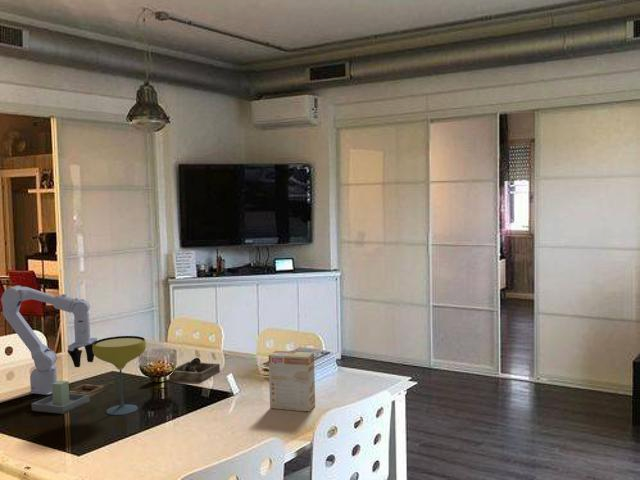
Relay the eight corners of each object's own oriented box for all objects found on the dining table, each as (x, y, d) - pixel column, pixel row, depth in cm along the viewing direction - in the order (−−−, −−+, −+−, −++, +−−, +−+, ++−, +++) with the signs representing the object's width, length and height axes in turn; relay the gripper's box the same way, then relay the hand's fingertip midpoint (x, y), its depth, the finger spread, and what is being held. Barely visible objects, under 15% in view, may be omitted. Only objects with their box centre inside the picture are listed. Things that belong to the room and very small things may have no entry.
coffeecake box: (315, 406, 226) (314, 352, 225) (309, 412, 219) (307, 357, 218) (277, 402, 231) (275, 349, 230) (269, 408, 224) (267, 354, 223)
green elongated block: (52, 405, 231) (51, 383, 230) (60, 401, 235) (59, 380, 234) (61, 406, 229) (60, 384, 229) (69, 402, 233) (68, 381, 233)
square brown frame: (65, 395, 245) (65, 391, 245) (83, 387, 254) (83, 383, 254) (88, 397, 241) (87, 393, 241) (105, 389, 251) (105, 385, 251)
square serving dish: (169, 379, 264) (169, 371, 263) (188, 369, 278) (188, 361, 278) (202, 382, 259) (201, 373, 258) (219, 371, 273) (219, 364, 273)
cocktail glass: (99, 422, 214) (96, 349, 212) (92, 407, 230) (88, 339, 228) (153, 413, 222) (150, 343, 220) (142, 399, 238) (139, 333, 236)
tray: (31, 410, 228) (31, 403, 228) (59, 398, 241) (59, 392, 241) (63, 413, 223) (63, 407, 223) (89, 401, 236) (89, 395, 236)
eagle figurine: (203, 373, 267) (204, 364, 276) (193, 361, 265) (195, 352, 274) (188, 383, 268) (190, 373, 276) (178, 370, 266) (180, 361, 275)
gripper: (77, 335, 243) (79, 369, 244) (102, 327, 257) (104, 360, 258) (63, 334, 245) (64, 368, 246) (88, 326, 259) (89, 359, 260)
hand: (83, 364), depth 252 cm, fingers open, 7 cm apart
